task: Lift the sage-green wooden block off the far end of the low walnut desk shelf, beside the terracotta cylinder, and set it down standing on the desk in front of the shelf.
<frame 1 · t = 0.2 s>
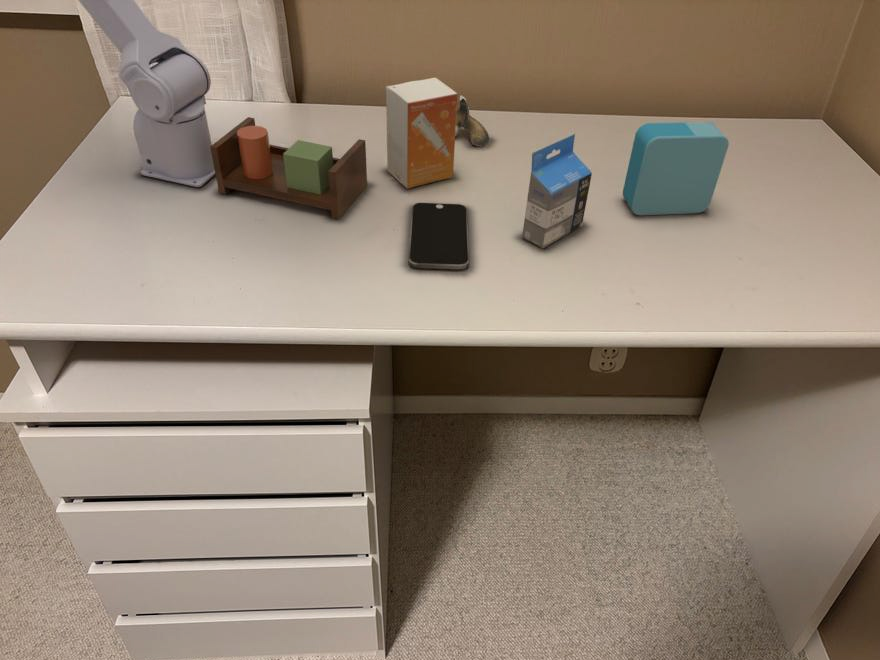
green block: (311, 183, 100), point 2 cm above the table, touching shelf
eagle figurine: (462, 137, 119), on the table
ink cartridge box: (552, 233, 99), on the table
smartphone: (439, 237, 97), on the table
small box: (420, 175, 109), on the table
terracotta cylinder: (258, 172, 101), point 2 cm above the table, touching shelf
shelf: (294, 189, 103), on the table
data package: (663, 208, 106), on the table
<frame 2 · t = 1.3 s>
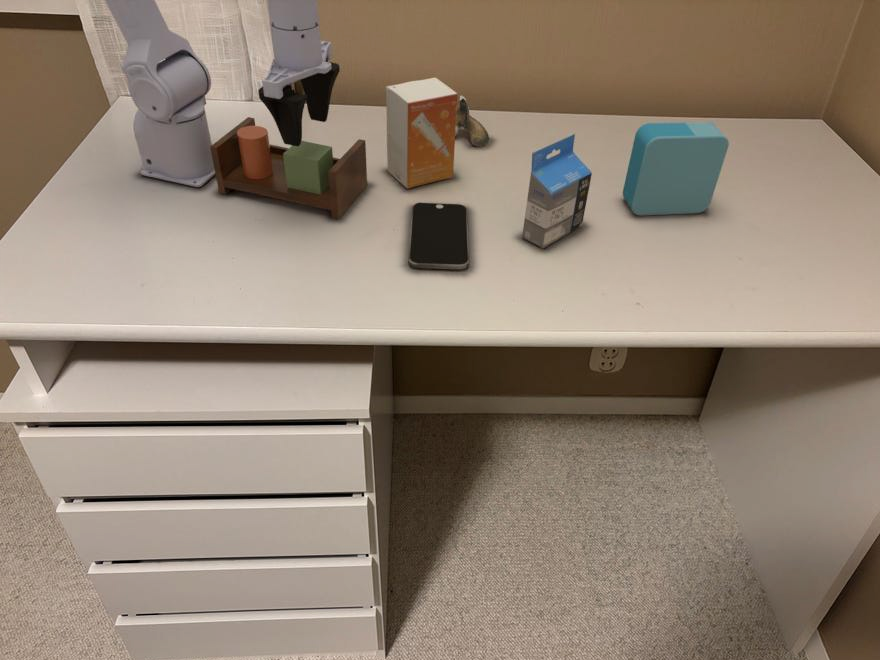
hand: (306, 131, 95), 10 cm above the table, tool pointing down, fingers open, 7 cm apart
nothing on the table moved.
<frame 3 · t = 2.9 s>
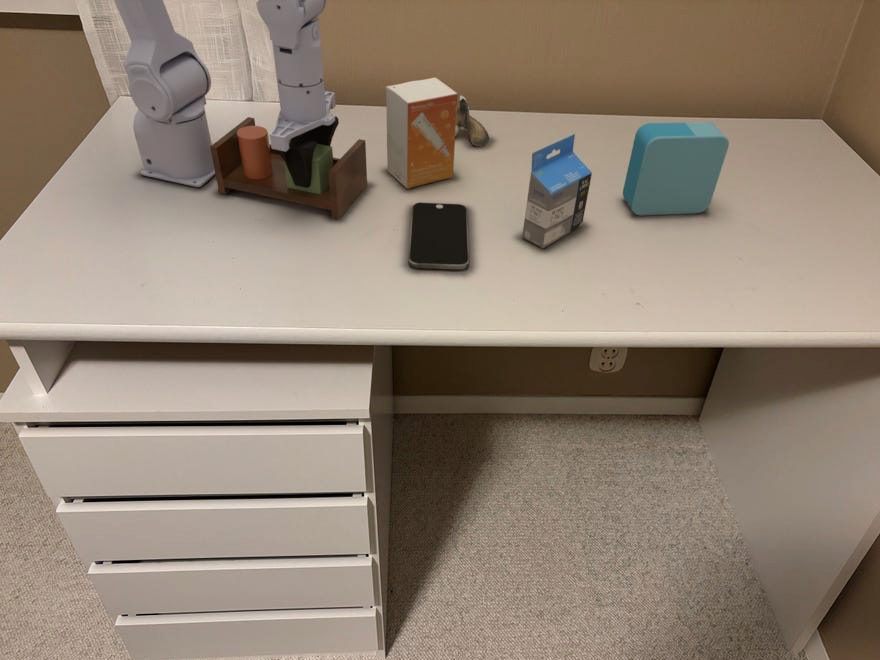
hand: (310, 177, 99), 3 cm above the table, tool pointing down, fingers closed on green block, 4 cm apart
green block: (311, 183, 100), point 2 cm above the table, touching gripper, shelf
everything else where it was.
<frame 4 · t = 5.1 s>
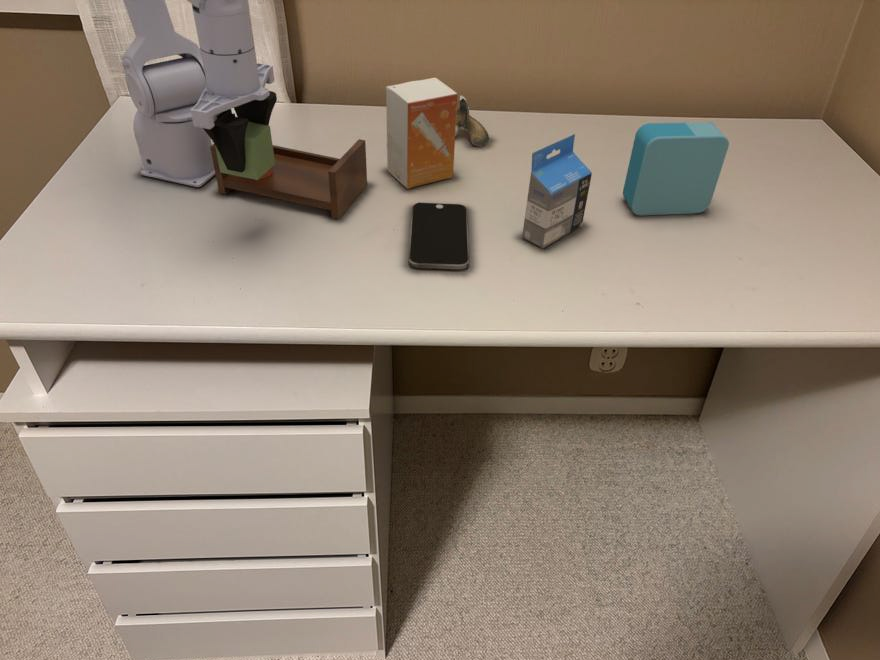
hand: (246, 160, 88), 10 cm above the table, tool pointing down, fingers closed on green block, 4 cm apart
green block: (248, 168, 89), point 9 cm above the table, touching gripper
everything else where it was.
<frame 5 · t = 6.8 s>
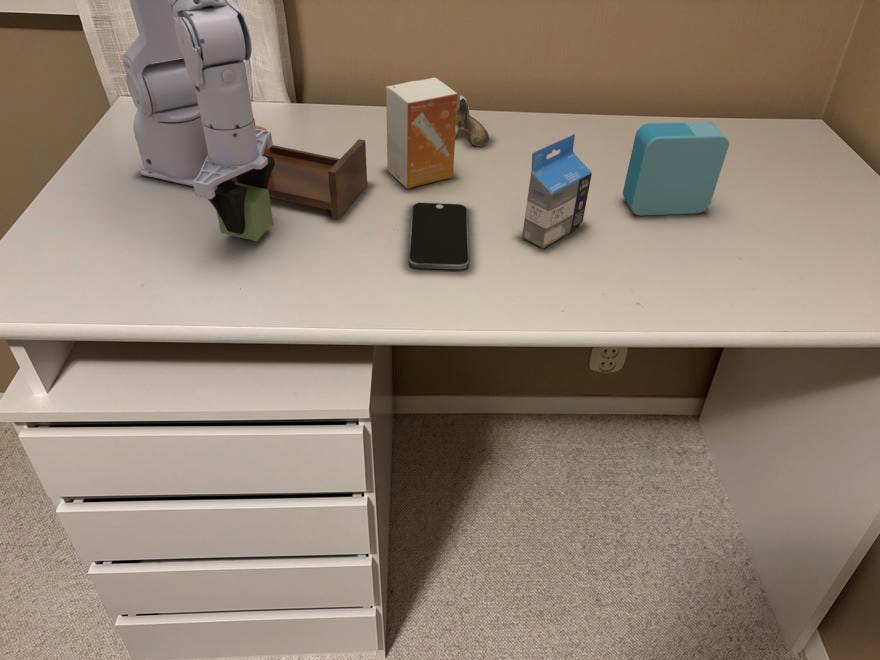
hand: (245, 221, 92), 2 cm above the table, tool pointing down, fingers closed on green block, 4 cm apart
green block: (247, 228, 93), point 1 cm above the table, touching gripper
everything else where it was.
when the fingers open (1 cm above the table, at t = 7.7 s): green block stays where it is, on the table.
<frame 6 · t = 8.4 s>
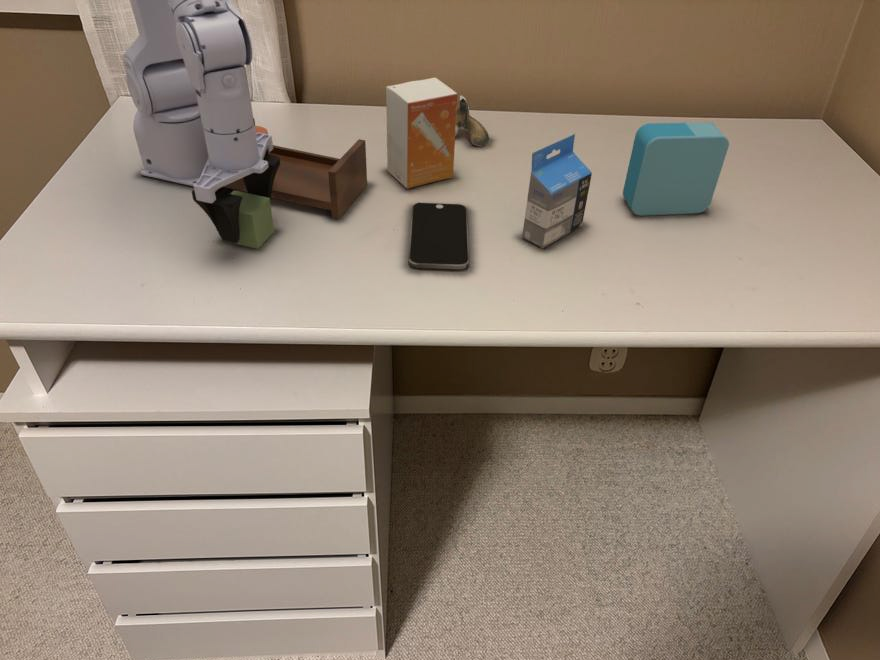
hand: (246, 225, 93), 2 cm above the table, tool pointing down, fingers open, 7 cm apart
green block: (248, 236, 94), on the table
everything else where it was.
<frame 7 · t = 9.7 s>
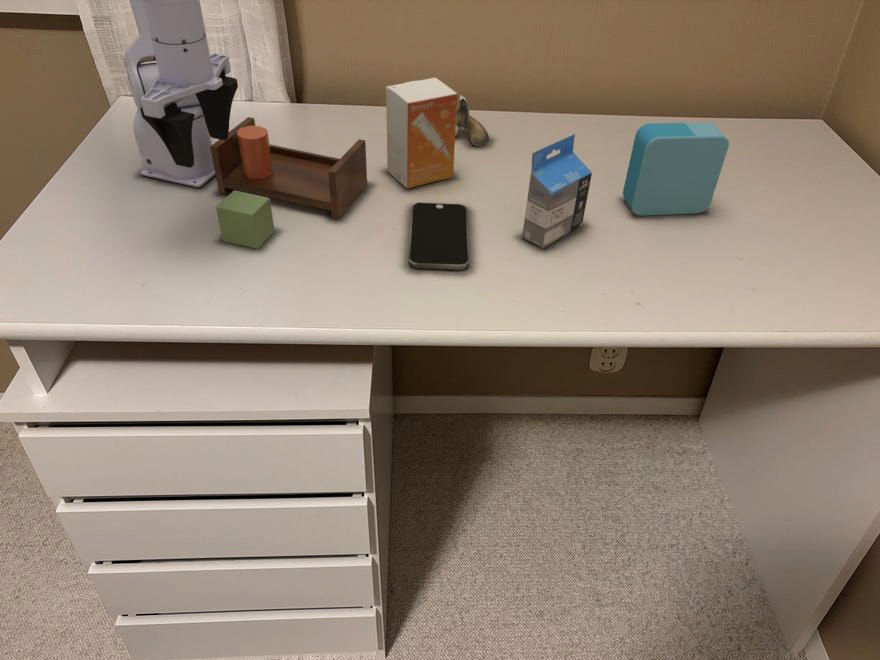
hand: (202, 151, 88), 10 cm above the table, tool pointing down, fingers open, 7 cm apart
nothing on the table moved.
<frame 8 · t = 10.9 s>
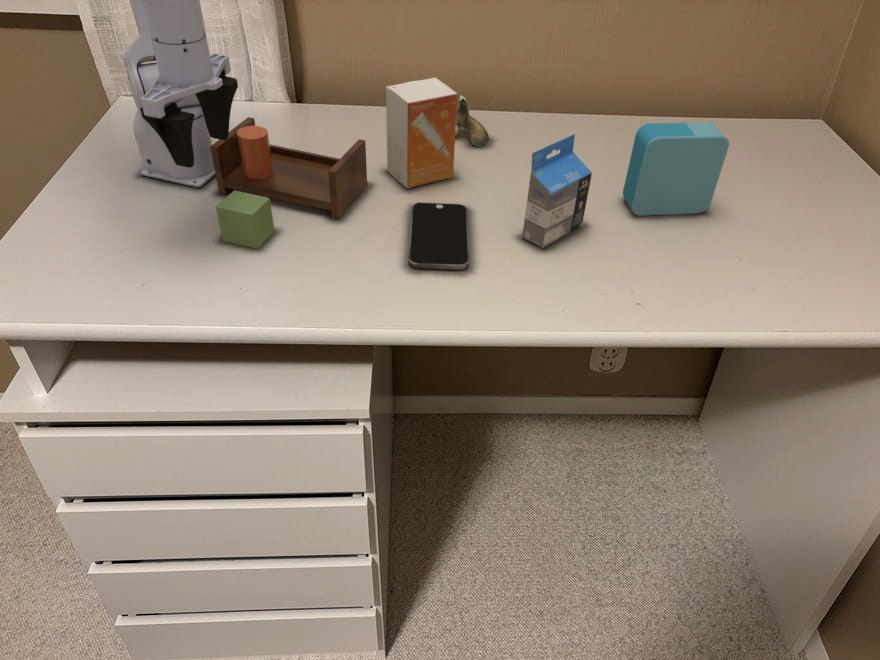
hand: (202, 151, 88), 10 cm above the table, tool pointing down, fingers open, 7 cm apart
nothing on the table moved.
at the end: green block 0.1 cm from the target spot, on the table; green block tilted 0°; the gripper is holding nothing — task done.
